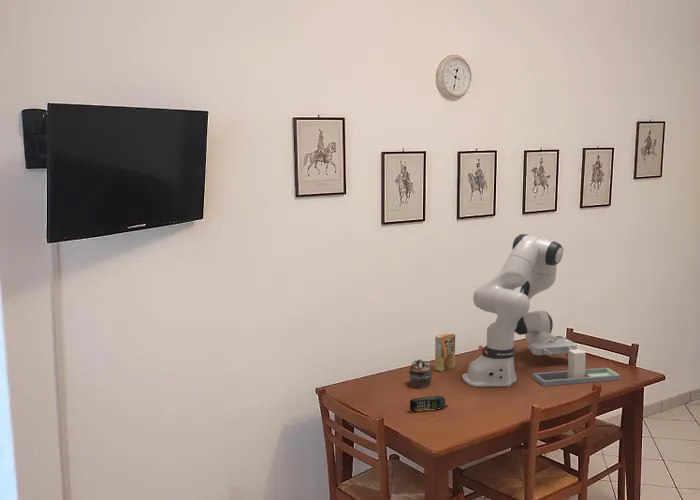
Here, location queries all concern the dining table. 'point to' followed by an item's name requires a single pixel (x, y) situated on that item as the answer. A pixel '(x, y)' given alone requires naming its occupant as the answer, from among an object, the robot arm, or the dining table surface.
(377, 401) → the dining table surface
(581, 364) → the ivory block
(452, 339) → the candy box
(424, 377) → the cupcake
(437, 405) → the mobile phone
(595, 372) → the tray
